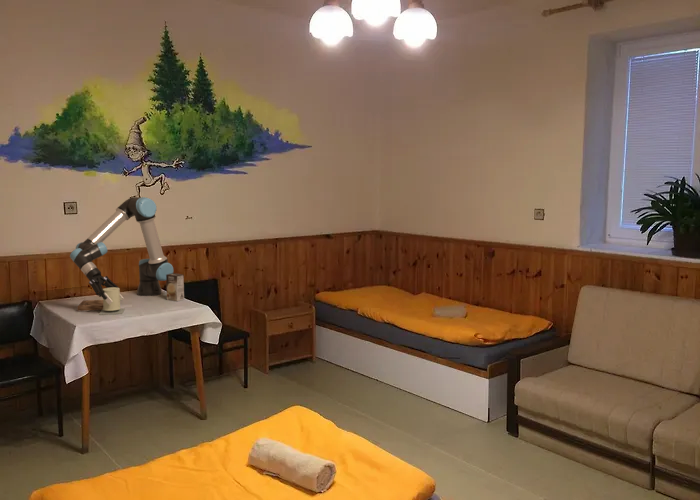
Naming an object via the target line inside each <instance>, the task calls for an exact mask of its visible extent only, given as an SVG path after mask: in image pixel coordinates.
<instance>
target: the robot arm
mask: <svg viewBox="0 0 700 500" xmlns="http://www.w3.org/2000/svg"><path fill="white" fill-rule="evenodd" d="M156 211H157V204H156V203H155V201H154V200H153V199H152V198H148V197H140V196H139V197H138V196H132V197H129V198H128V199H126V200H125V201H123V202H122V203H121V204H120V205H119V206H117V208H115V212H114V213H113V214H112V215H110V217H108V219H106V220H105V221H104V222H103V223H102V224H101V225H100V226H99V227H98V228H97V229H95V231H94V232H93V233H92V234H90V235H89V237H87V238H86V239H85V240H84V241H83V242H79V243H77V244H76V245H75V249H74V250H72V251H71V252H70V255H69V258H70V259H71V260H72V262H73V263H74V264H75V265H76V267H78V268H79V270H80V271H81V272H82V273H83V275H85V277H86V278H87V279H88V285H90V286H91V288H92V290H93V291H94V293H95V295H96V296H98V297H100V298H102V300H103V299H104V300H105V301H106V302H107V303H108V304H109V305H110V304H111V303H112V302H113V301H112V300H111V299H110V298H109V296H108V295H107V294H106V293H104V291H103V289H104V288H103V286H105V288H112V287H116V288H119V286H118V285H117V284H115V283H114V282H113V281H112V280H111V279H110V278H109V277H108V276H107V275H106V276H102V272H101V271H100V269H99V268H98V267H97V265H96V264H95V263H94V262H93V261H95V260H96V259H99V258H100V257H102V256H104V255H105V254H107V253H108V247H107V246H106V244H105V243H104V242H105V240H106V239H107V238H109V236H111V234H112V233H114V232H115V231H116V230H117V229H118V228H119V227H120V226H121V225H122V224H123V223H124V222H125V221H128V220H130V219H131V218H133V217H134V218H135V221H136V222H137V223H138V224H139V226H140V229H141V232H142V236H143V239H144V244H145V246H146V250H147V254H148V256H149V258H143V259H140V260H139V261H138V271H139V272H138V273H139V274H138V276H139V282H138V283H139V284H138V286H137V292H136V294H137V295H138V296H140V297H141V296H142V297H143V296H144V297H147V296H149V297H150V296H158V295H161V294H162V291H163V290H162V286H161V284H160V282H163V281H164V282H165V281H166V275H167V274H171V273H174V267H173V265H172V264H171V263H170V262H169V261H168V257H167V256H165V255H164V252H163V249H162V244H161V241H160V237H159V234H158V230H157V226H156V223H155V219H156ZM159 281H160V282H159ZM123 300H124V297H123V295H122V294H121V293H120V302H121V301H123Z"/></svg>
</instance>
